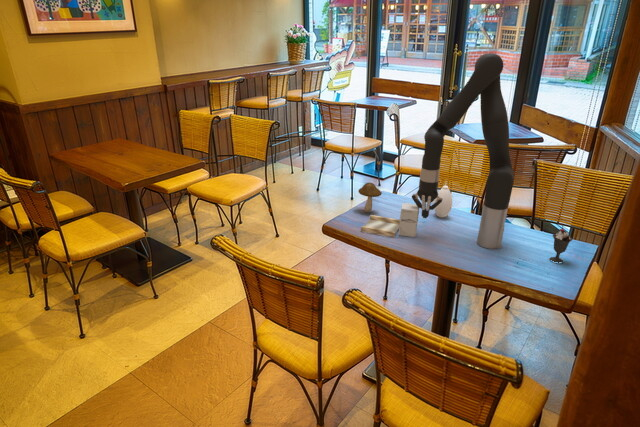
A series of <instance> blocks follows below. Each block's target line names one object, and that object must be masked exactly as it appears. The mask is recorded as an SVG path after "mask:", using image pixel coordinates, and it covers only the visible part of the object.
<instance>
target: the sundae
mask: <svg viewBox="0 0 640 427" xmlns="http://www.w3.org/2000/svg"><path fill="white" fill-rule="evenodd" d="M560 225H561V228H560V229H559V231H557V232H556V233H553V234H552V238H553V239H554V241H553V250H554V251H555V253H556V254H555V256H551V257H550V258H549V261H550V260H552V261H554V262H558V263H559V262H563V261H564V260H563V259H562V258H560V256H561V254H563V253H565V252H566V250H567V248H568V246H569V244H570V242H572V241H573V239H574V238H572V237H571V236H570V235H569V233H568V231H566V230H565V229H564V225H563V223H560Z"/></svg>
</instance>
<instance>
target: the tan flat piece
mask: <svg viewBox="0 0 640 427" xmlns="http://www.w3.org/2000/svg"><path fill="white" fill-rule="evenodd" d="M399 225H400V219H397V218H391V217H386V216H385V217H384V216H381V215H373V214H370V215H369V219H368V221H367V222H366V223H365V225H361V227H360V228H361V229H360V232H362V233H366V234H370V235H372V234H373V235H377V236H383V237H386V238H387V237H388V238H395V236H396V234H397V233H398V232H399Z"/></svg>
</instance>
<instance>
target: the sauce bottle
mask: <svg viewBox="0 0 640 427" xmlns="http://www.w3.org/2000/svg"><path fill="white" fill-rule="evenodd" d="M447 183H448V182H447V180H446V181H445V184H444V185H442V187H441V189H440V190H439V191H437V192H438V196H439V197H440V198H442V199H443V200H442V202H441V203H440V204H439V205H438V206H437V207H435V208H434V209H433V210H434V212H435V214H436V215H437V216H438V217H439V218H442V219H443V218H445V217H447V216H448V215H449V214H450V212H451V211H452V207H453V197H452V192H451V189H449V186H448V185H447ZM436 199H437V198H436ZM436 199H435V200H434V201H433V202H434V203H435V202H436ZM434 203H433V204H434Z"/></svg>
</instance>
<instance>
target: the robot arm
mask: <svg viewBox="0 0 640 427" xmlns="http://www.w3.org/2000/svg"><path fill="white" fill-rule="evenodd" d="M503 70H504V61H503V59H502V57H501V56H500V55H498V54H497V53H491V52H490V53H488V52H487V53H484V54H482V55H480V56H479V57H478V58H477V60H476V62H475V63H474V69H473V72H472V74H471V76H470V77H469V79H468V81H467V82H466V84H464V86H463V87H462V89H461V90H460V91H459V92H458V93H457V94H456V95H455V96H454V97H453V98H452V99H451V101H450V102H448V105H447V106H446V107H445V108H444V110H443V111H442V112H441V114H440V115H439V117H438V118H437V119H436V120H435V121H434V122H433V123H432V124H431V125H430V126H429V128H428V129H426V132H425V134H424V152H423V156H422V159H421V160H422V162H421V169H420V174H419V182H418V190H417V191H416V193H413V194H412V195H411V199H412V200H413V201H414V203H415V204H416V205H417V206H418V208H419V209H421V217H422V219H427V218H428V217H429V216H430V210H431V211H432V210H434V208H435V207H437V206H438V205H439V204H440V203H441V202H442V200H443V199H442V198H440V197H439V196H438V192H439V191H438V190H439V182H440V181H439V180H440V168H441V161H442V159H441V158H442V153H443V149H444V143H445V142H444V141H445V138H444V137H445V136H446V135H447V134H448V133H449V131H450V130H453V129H454V128H455V127H456V126H457V124H458V123H459V122H460V120H462V118H463V117H464V115H466V113H467V111H468V110H469V109H470V107H471V106H472V105H473V103H474V102H475V101H476V99H477V98H478V97H479V96H480V120H481V129H482V134H483V136H482V137H483V139H484V143H485V145H486V148H487V152H488V156H489V157H488V159H489V173H488V176H487V181H486V186H485V191H484V198H483V199H484V200H483V205H482V212H481V216H480V221H479V227H478V233H477V234H478V235H477V237H476V244H478V246H480V247H483V248H486V249H488V250H489V249H491V250H494V249H499V250H500V249H501V246H502V240H503V237H504V232H505V226H506V225H505V223H506V220H507V214H508V209H509V205H510V200H511V196H512V191H513V188H514V179H515V173H514V170H513V165H512V161H511V157H510V156H511V154H510V126H509V117H508V112H507V108H506V104H505V101H504V97H503V92H502V88H501V74H502V72H503ZM436 198H437V199H436ZM435 199H436V202H435ZM433 202H435V203H433ZM432 203H433V204H432Z"/></svg>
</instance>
